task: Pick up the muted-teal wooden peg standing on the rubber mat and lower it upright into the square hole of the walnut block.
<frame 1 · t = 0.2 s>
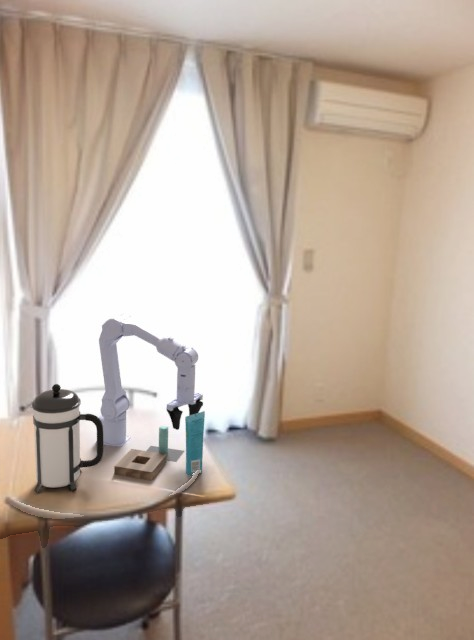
hand: (184, 425, 166), 10 cm above the table, fingers open, 7 cm apart
coffee press: (63, 482, 147), on the table
peg: (163, 453, 166), resting on mat
tube: (193, 472, 156), on the table
hole block: (141, 468, 156), on the table
mat: (163, 454, 166), on the table
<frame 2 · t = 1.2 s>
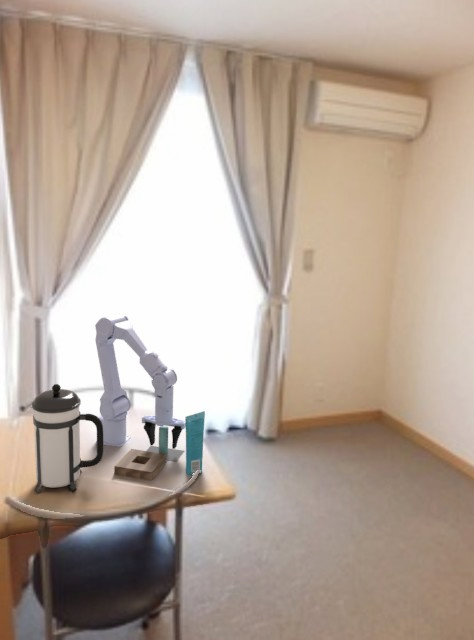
hand: (163, 445, 166), 3 cm above the table, fingers open, 7 cm apart
nothing on the table moved.
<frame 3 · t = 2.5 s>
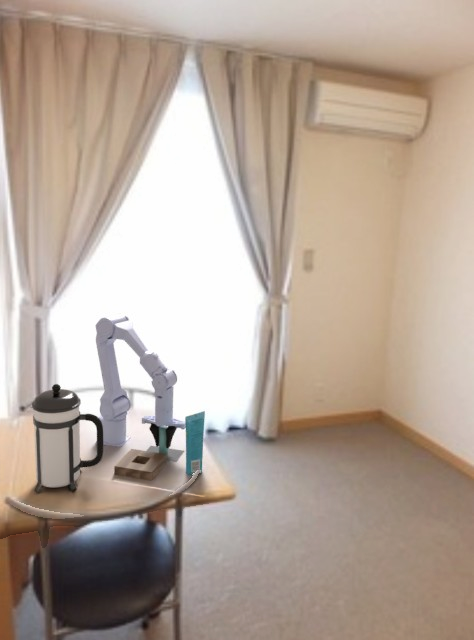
hand: (163, 446, 166), 3 cm above the table, fingers closed on peg, 3 cm apart
peg: (163, 453, 166), resting on mat, touching gripper
everything else where it was.
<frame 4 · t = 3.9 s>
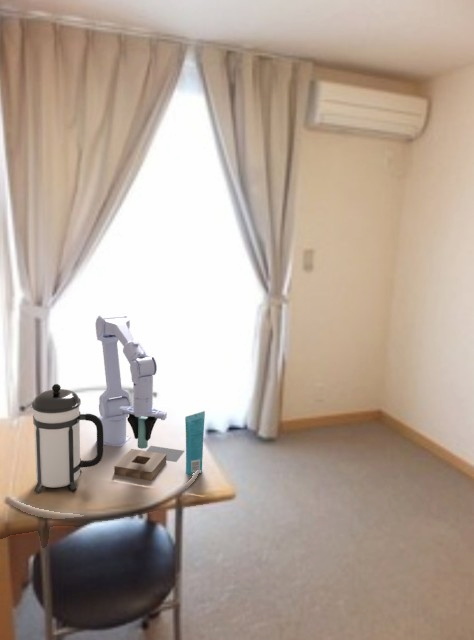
hand: (142, 438, 155), 10 cm above the table, fingers closed on peg, 3 cm apart
peg: (142, 446, 155), point 7 cm above the table, touching gripper
everything else where it was.
when the fingers open (4 cm above the table, at t = 5.8 s): peg drops 1 cm, resting in hole block.
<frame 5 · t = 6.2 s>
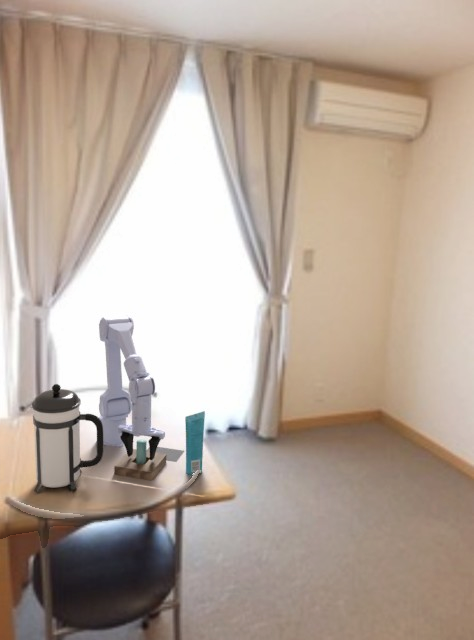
hand: (141, 456, 156), 4 cm above the table, fingers open, 7 cm apart
peg: (141, 468, 156), resting in hole block
everything else where it was.
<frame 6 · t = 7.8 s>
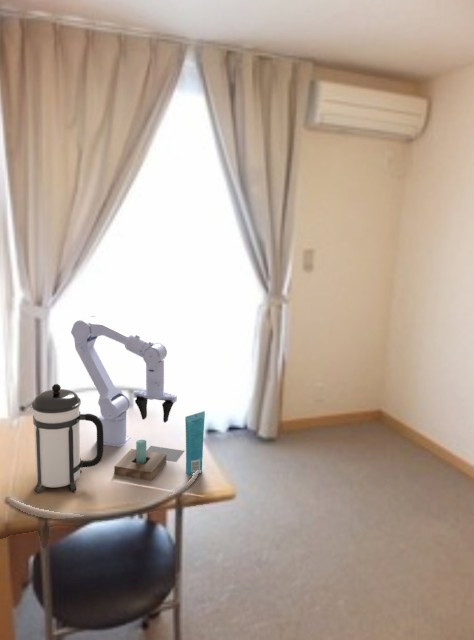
hand: (155, 419, 168), 10 cm above the table, fingers open, 7 cm apart
nothing on the table moved.
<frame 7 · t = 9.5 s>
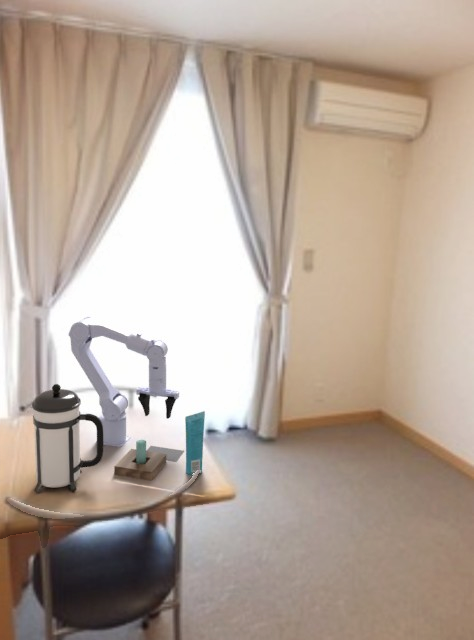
hand: (157, 416, 171), 10 cm above the table, fingers open, 7 cm apart
nothing on the table moved.
at the end: peg 0.0 cm off-centre on the hole block, point 0.0 cm above the hole block's base; peg tilted 0°; the gripper is holding nothing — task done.
